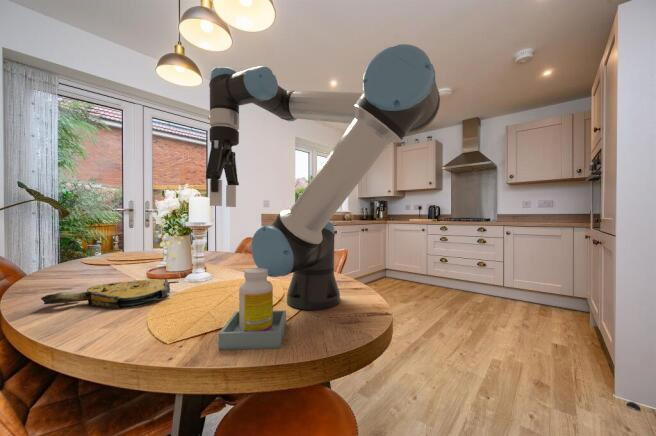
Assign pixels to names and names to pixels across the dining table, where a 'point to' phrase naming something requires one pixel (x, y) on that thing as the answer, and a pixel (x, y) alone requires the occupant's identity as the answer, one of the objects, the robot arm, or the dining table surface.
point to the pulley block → (116, 294)
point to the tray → (252, 334)
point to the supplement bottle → (256, 301)
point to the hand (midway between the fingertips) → (224, 206)
